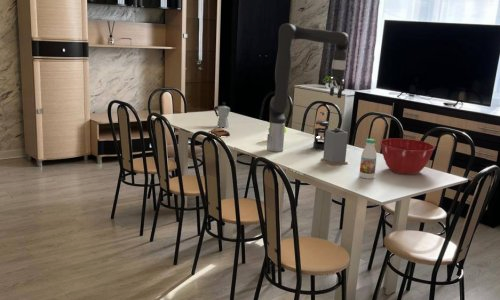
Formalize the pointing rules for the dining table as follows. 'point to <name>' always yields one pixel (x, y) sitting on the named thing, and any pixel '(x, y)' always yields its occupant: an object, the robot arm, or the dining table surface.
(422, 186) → the dining table surface
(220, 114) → the coffee maker
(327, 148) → the grey upright prism
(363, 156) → the milk bottle
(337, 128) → the plunger
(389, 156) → the mixing bowl
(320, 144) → the french press
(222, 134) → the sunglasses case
